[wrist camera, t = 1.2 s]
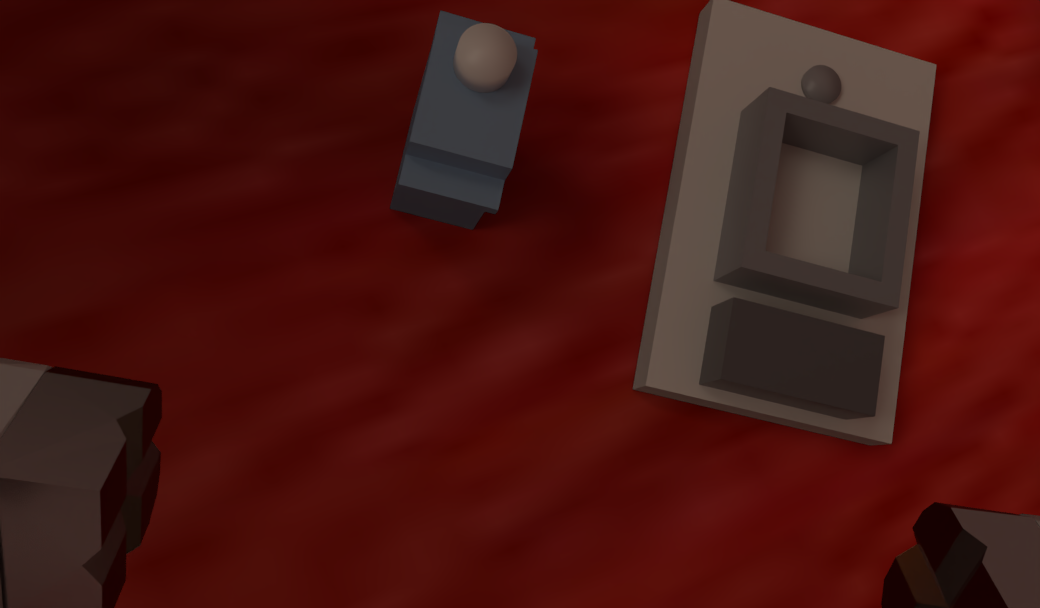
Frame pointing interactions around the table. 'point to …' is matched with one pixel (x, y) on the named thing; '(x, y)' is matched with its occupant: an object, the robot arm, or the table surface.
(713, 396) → the chassis
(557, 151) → the table surface
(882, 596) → the robot arm
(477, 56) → the block
